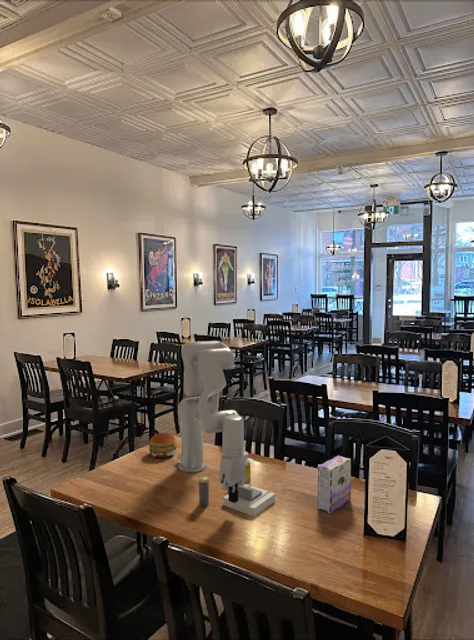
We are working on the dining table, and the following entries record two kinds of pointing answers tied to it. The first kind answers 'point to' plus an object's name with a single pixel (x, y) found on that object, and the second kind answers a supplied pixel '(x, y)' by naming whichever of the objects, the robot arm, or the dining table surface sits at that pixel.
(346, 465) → the candy box
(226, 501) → the socket
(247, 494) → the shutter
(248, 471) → the supplement bottle
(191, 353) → the robot arm
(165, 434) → the burger
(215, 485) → the dining table surface
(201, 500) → the plug
